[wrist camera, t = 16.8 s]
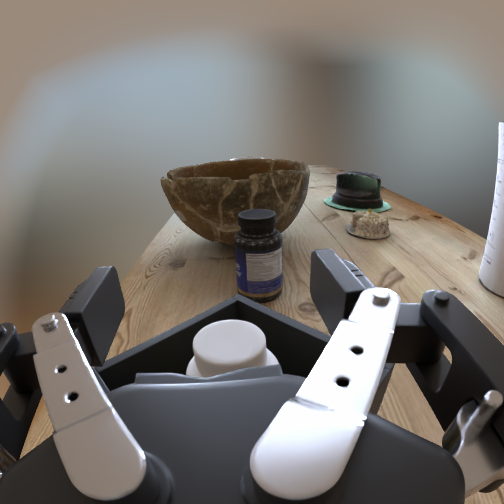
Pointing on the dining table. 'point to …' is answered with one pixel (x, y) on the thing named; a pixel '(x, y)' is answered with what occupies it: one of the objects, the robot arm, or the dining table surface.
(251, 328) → the supplement bottle
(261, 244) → the pill bottle
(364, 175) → the fedora hat
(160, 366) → the open storage box
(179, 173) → the bowl
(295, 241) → the dining table surface
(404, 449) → the robot arm
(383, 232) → the cake
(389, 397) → the dining table surface
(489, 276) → the speaker
